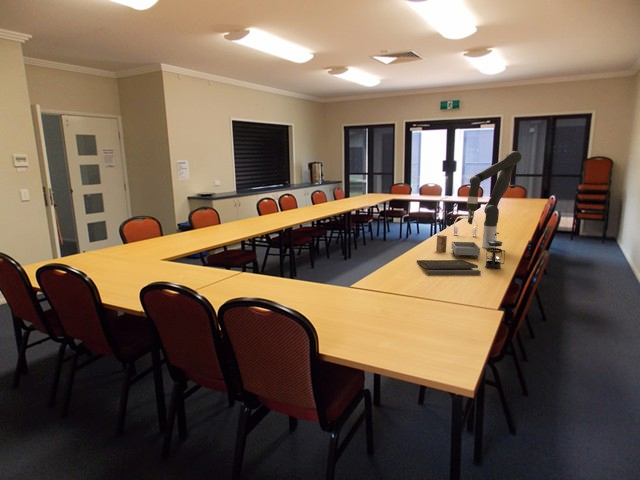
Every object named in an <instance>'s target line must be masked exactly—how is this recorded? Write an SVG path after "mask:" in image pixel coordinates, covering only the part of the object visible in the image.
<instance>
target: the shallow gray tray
mask: <svg viewBox="0 0 640 480" xmlns="http://www.w3.org/2000/svg"><path fill="white" fill-rule="evenodd" d="M451 251H452V253H453V254H454V255H455V258H456V259H460V258H461V256H472V257H473V259H475V260H477V259H478V258H479V256H481V255H480V254H481V247H479V245H478V244H477V243H476V242H474V241H473V242H472V241H451Z"/></svg>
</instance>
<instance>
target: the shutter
mask: <svg viewBox="0 0 640 480" xmlns="http://www.w3.org/2000/svg"><path fill="white" fill-rule="evenodd" d="M416 263H417V264H418V265H419V266H422V267H423V268H425V269H426V274H427V275H428V276H435V277H436V276H438V277H439V276H444V277H445V276H481V270H479V265H477V264H475V263H472V262H470V261H468V260H467V261H466V260H464V259H445V260H444V259H436V260H435V259H429V260H427V259H423V260H422V259H417V260H416Z"/></svg>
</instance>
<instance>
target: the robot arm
mask: <svg viewBox="0 0 640 480" xmlns="http://www.w3.org/2000/svg"><path fill="white" fill-rule="evenodd" d="M521 160H522V154H521V152H520V151H516V150H512V151H509V152H508V153H507V154H506V156H505V158H503V159H501V161H500V160H499V162H497V163H494V164H493V165H490V166H489V167H487V168H485V169H483V170H481V172H479V173H477V174H474V175H472V176H471V177H470V179H469V184H470V187H469V191H468V196H467V201H466V209H468V212H467V216H468V219H467V223H468V224H469V225H473V220H474V219H473V217H474V216H475V211H474V210H477V209H478V205H479V203H478V202H479V193H480V192H479V191H480V187H481V183H483V182H484V181H485V180H488V179H489V178H492V177H493V176H494V175H496V174H498V173H499V172H500V173H499V175H498V176H497V179H496V181H495V184H494V187H493V189H492V192H491V195H490V197H489V200H488V201H487V203H486V205H485V207H484V209H483V210H484V212H483V213H485V214H484V215H485V219H484V223H483V232H482V244H481V245H482V247H481V248H484V249H487V248H494V246H490V245H489V243H488V241H495V234H493V232H497V226H498V222H499V213H500V209H499V208H498V206H499V203H500V201H501V199H503V196H504V195H505V194H506V192H507V190H508V188H509V185H510V182H511V180H512V173H513V170H514V167H515V165H516V164H518V163H519V162H520V161H521ZM474 218H475V217H474ZM497 237H498V236H497V235H496V239H497ZM495 248H497V247H495Z"/></svg>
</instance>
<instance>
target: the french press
mask: <svg viewBox="0 0 640 480" xmlns="http://www.w3.org/2000/svg"><path fill="white" fill-rule="evenodd" d="M493 234H495V241H488V243H489V245H490V246H494V248H486V255H485V266H484V267H485V268H486V269H489V270H500V269H501V268H502V267H501V265H505V262H503V263H502V261H501V260H502V255H503V261H505V258H506V257H505V256H506V250H504V249H502V248H499V247H502V246H503V243H504V242H502V241H501V240H497V238H496V236H497V235H499V234H500V232H497V231H496V232H493ZM495 247H496V248H495ZM497 247H498V248H497ZM503 252H504V253H503ZM488 253H491V255H490V256H487V255H488ZM502 253H503V254H502ZM496 254H500V257H499V256H497V255H496Z"/></svg>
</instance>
